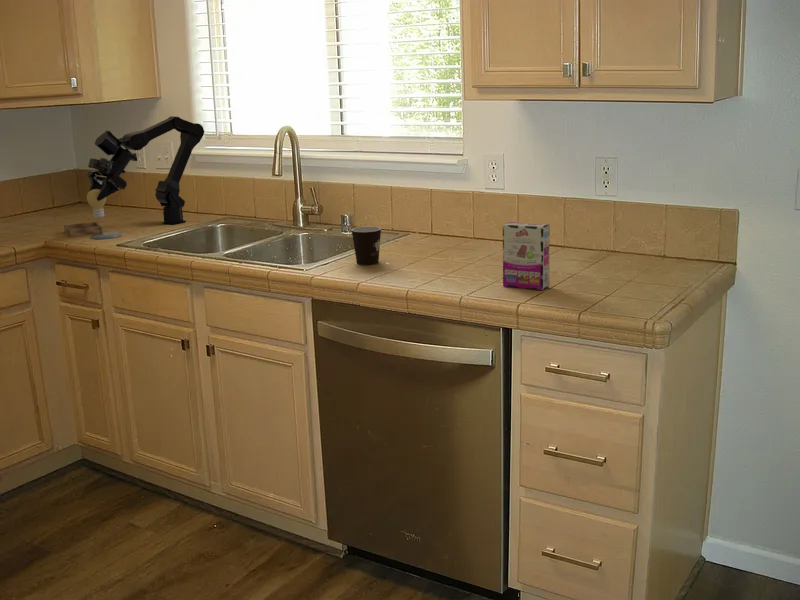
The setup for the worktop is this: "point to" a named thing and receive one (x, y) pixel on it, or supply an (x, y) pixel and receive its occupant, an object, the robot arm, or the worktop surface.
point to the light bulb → (96, 203)
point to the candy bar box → (526, 255)
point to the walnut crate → (82, 229)
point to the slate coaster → (106, 235)
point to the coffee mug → (366, 244)
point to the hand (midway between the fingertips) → (93, 199)
